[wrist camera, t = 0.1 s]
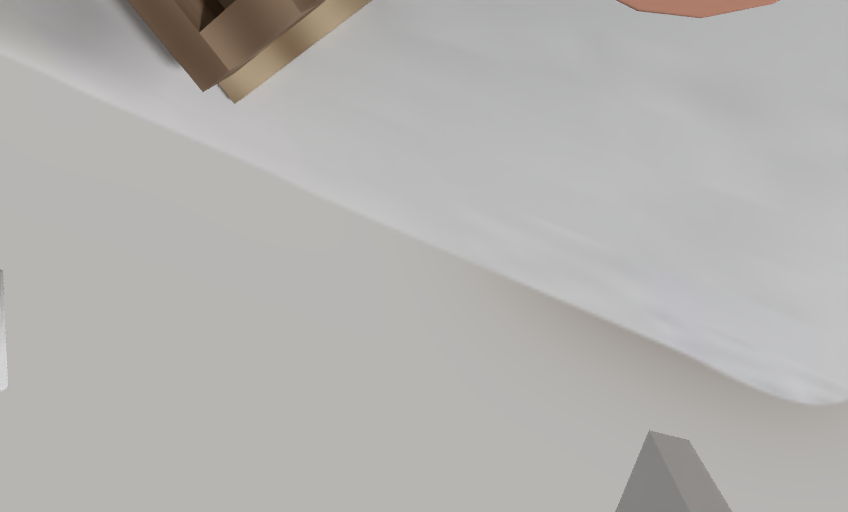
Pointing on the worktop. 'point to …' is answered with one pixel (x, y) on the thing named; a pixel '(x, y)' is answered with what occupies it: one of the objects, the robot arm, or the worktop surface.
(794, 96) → the worktop surface
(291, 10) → the socket block
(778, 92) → the worktop surface
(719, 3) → the coffee jar
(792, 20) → the worktop surface
